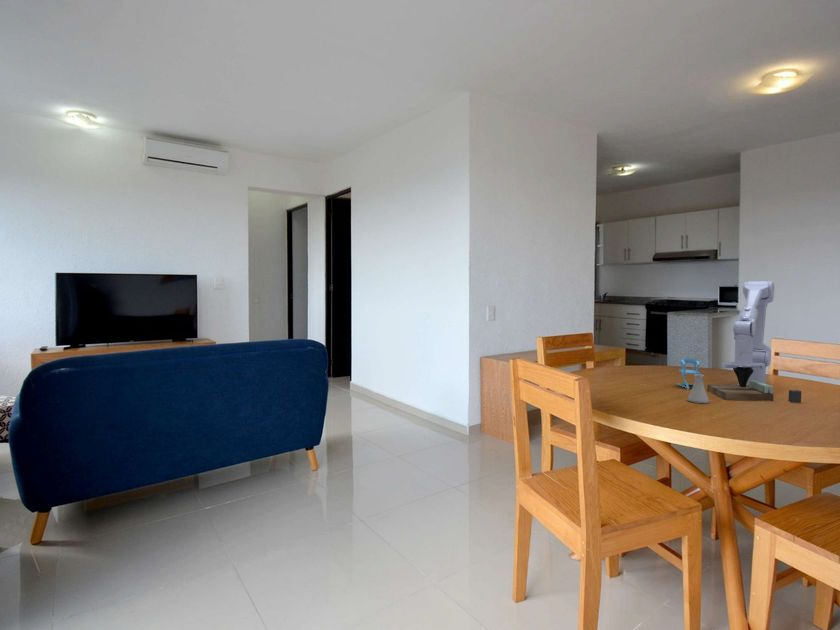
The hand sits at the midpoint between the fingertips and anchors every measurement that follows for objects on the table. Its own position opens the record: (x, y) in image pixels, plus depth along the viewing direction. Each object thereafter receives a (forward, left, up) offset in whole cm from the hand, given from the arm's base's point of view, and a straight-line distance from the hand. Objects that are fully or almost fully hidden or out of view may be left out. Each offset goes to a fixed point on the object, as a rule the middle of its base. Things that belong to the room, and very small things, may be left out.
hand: (742, 386), depth 185 cm
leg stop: (+9, +13, -3) cm, 16 cm away
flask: (+11, -20, -4) cm, 23 cm away
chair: (-13, -14, -4) cm, 20 cm away
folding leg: (+2, +5, -1) cm, 6 cm away
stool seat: (0, -1, -3) cm, 4 cm away
